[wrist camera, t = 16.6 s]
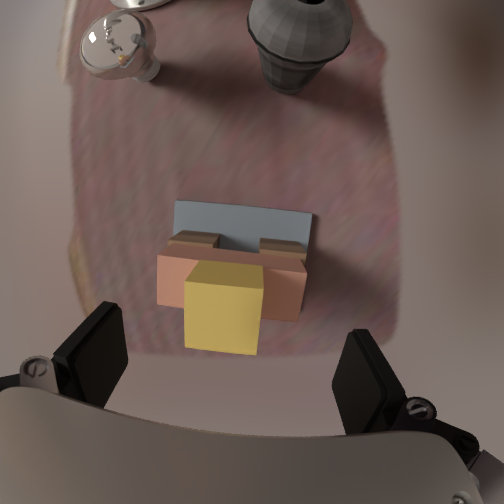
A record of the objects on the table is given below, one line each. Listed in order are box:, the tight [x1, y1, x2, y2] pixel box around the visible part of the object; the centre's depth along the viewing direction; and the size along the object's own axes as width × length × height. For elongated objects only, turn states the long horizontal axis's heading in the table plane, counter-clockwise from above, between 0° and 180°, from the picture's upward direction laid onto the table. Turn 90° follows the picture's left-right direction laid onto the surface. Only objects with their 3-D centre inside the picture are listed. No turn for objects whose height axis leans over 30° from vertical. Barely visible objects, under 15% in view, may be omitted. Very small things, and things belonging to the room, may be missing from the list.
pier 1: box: [168, 230, 221, 249], centre depth 27 cm, size 5×4×5 cm
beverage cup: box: [247, 0, 353, 94], centre depth 16 cm, size 7×7×20 cm
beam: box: [157, 243, 307, 322], centre depth 23 cm, size 11×4×4 cm, turn 83°
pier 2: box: [258, 238, 307, 268], centre depth 27 cm, size 5×4×5 cm
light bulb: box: [79, 9, 160, 82], centre depth 19 cm, size 7×7×12 cm
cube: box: [184, 260, 264, 355], centre depth 19 cm, size 4×4×4 cm
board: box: [173, 200, 312, 254], centre depth 30 cm, size 11×14×1 cm
